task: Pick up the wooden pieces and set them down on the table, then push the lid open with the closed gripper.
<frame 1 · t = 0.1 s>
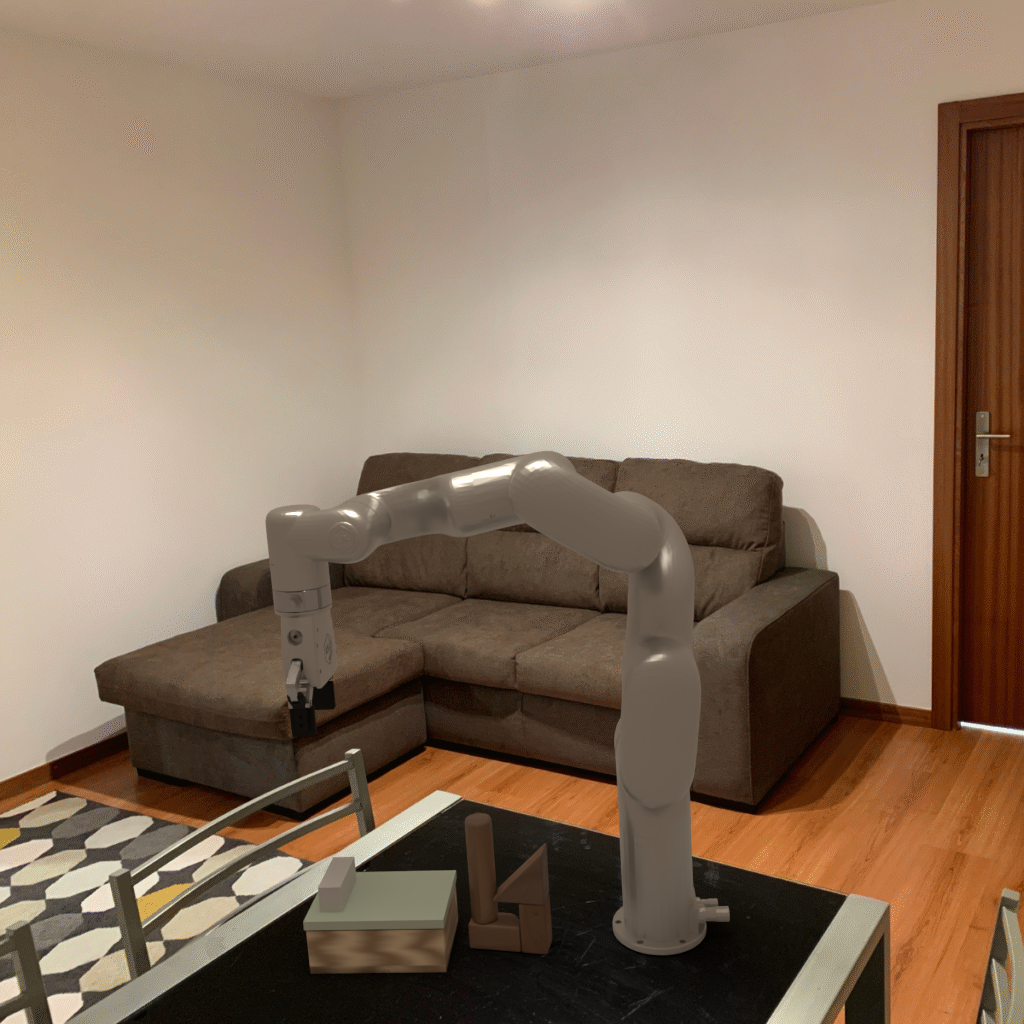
hand: (314, 722, 137), 31 cm above the table, tool pointing down, fingers open, 9 cm apart
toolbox: (387, 945, 138), on the table
lid: (381, 887, 137), point 9 cm above the table, slide at 0.0 cm
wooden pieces: (511, 946, 137), on the table
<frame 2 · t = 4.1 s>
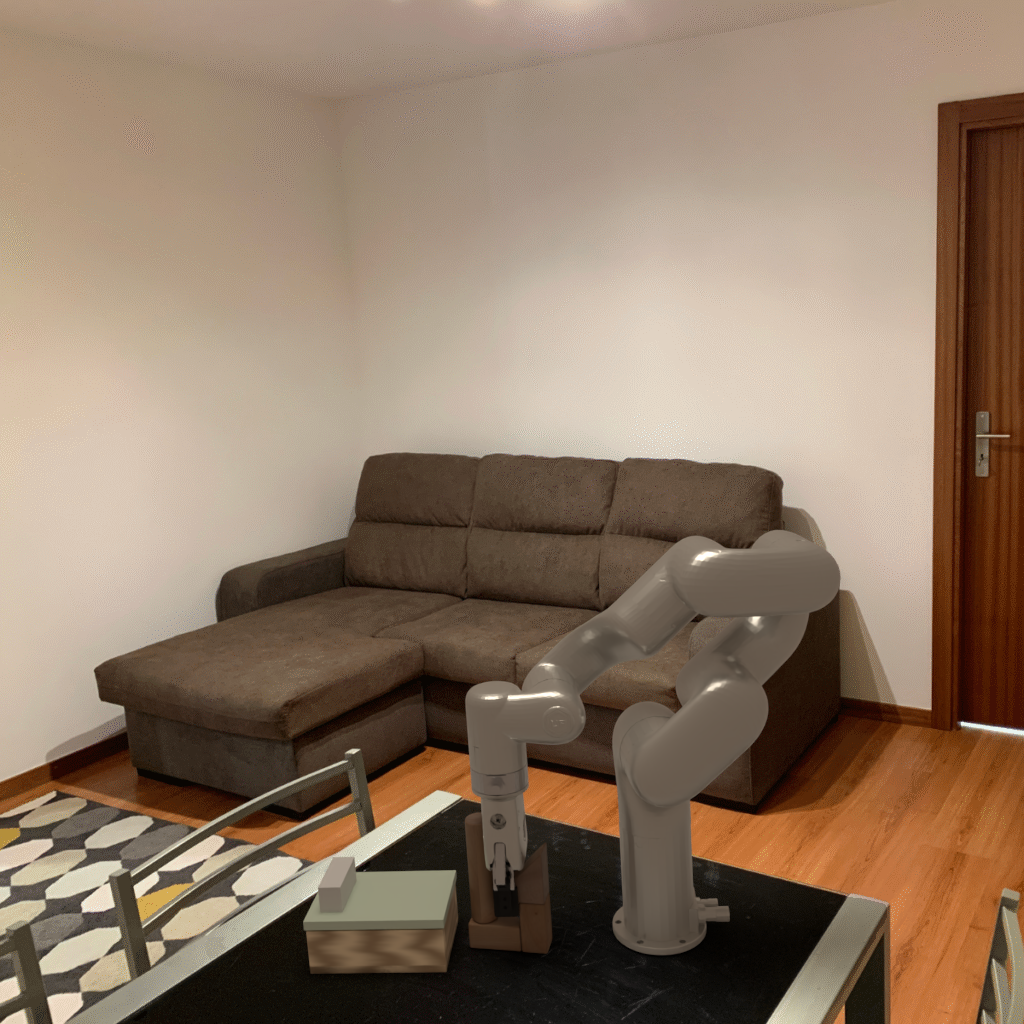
hand: (508, 904, 136), 6 cm above the table, tool pointing down, fingers closed on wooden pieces, 4 cm apart
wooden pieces: (511, 945, 137), on the table, touching gripper
everything else where it was.
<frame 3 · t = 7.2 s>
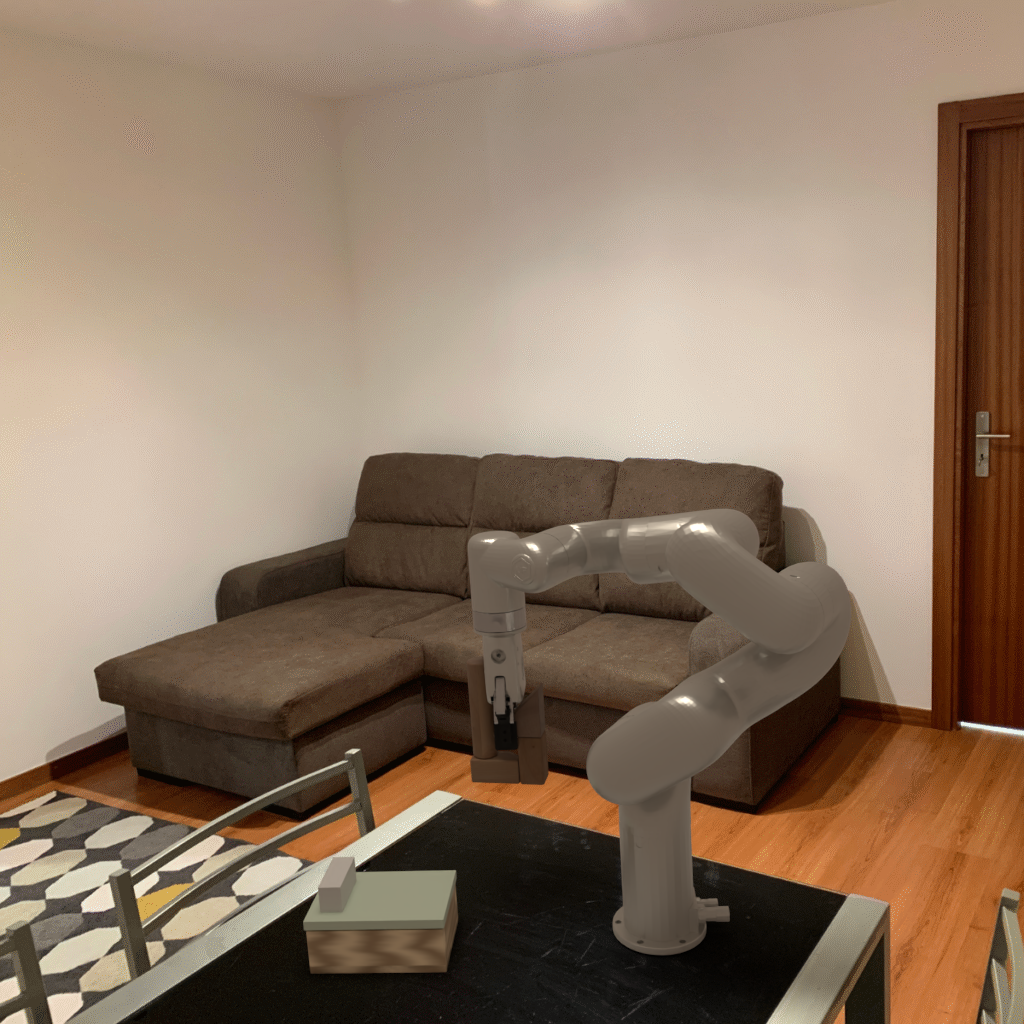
hand: (508, 741, 145), 24 cm above the table, tool pointing down, fingers closed on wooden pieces, 4 cm apart
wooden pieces: (510, 780, 147), point 17 cm above the table, touching gripper
everything else where it was.
when the fingers open (7 cm above the table, at t = 10.4 s): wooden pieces drops 1 cm, on the table.
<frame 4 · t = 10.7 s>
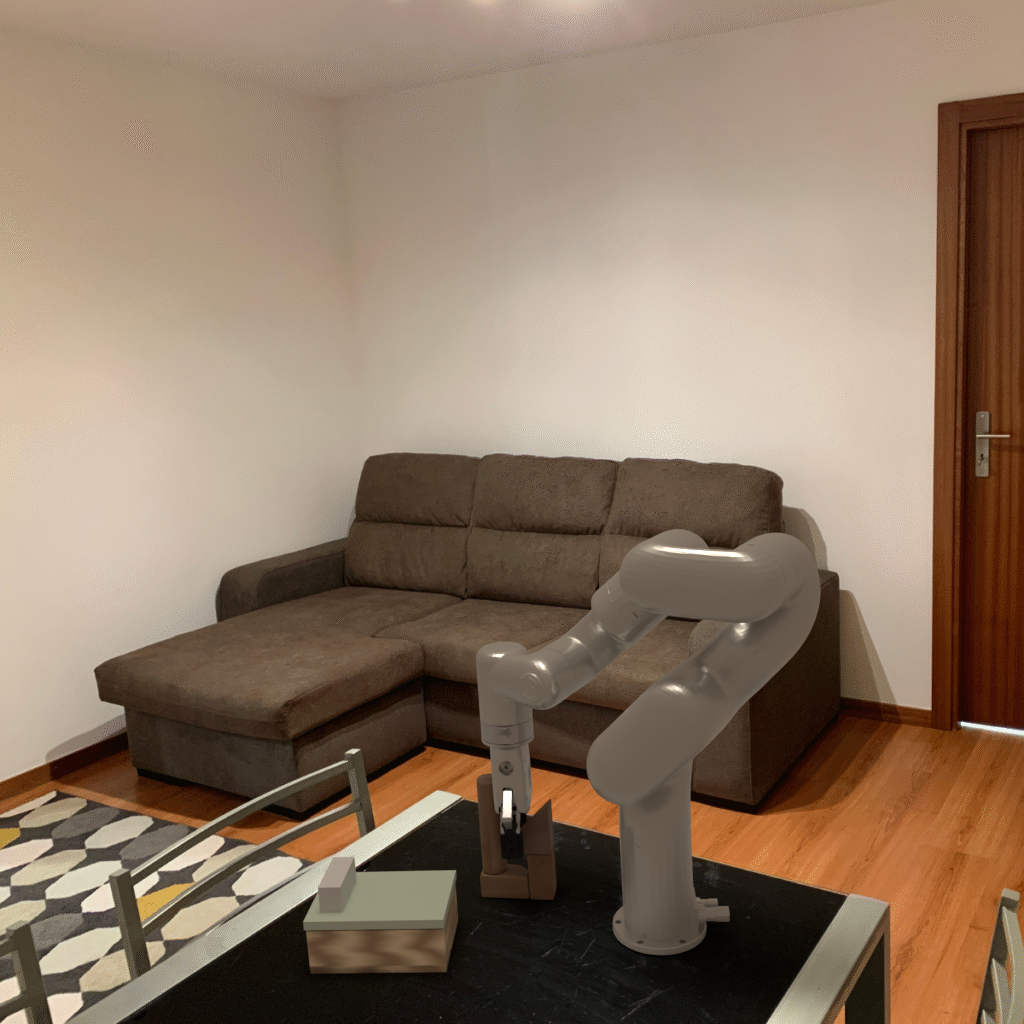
hand: (514, 843, 148), 8 cm above the table, tool pointing down, fingers open, 7 cm apart
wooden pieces: (519, 894, 149), on the table
everything else where it was.
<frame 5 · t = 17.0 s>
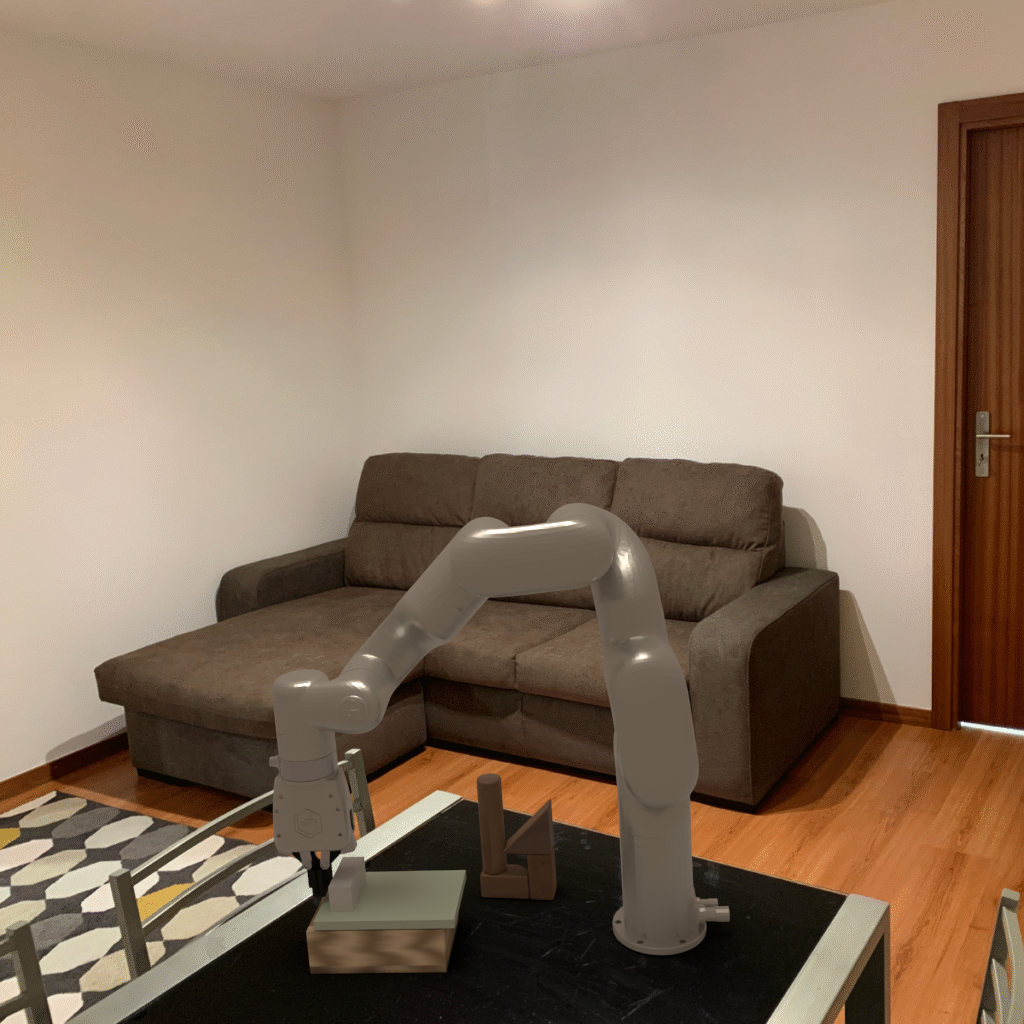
hand: (321, 891, 137), 8 cm above the table, tool pointing down, fingers closed
lid: (391, 886, 136), point 9 cm above the table, slide at 1.4 cm, touching gripper
everything else where it was.
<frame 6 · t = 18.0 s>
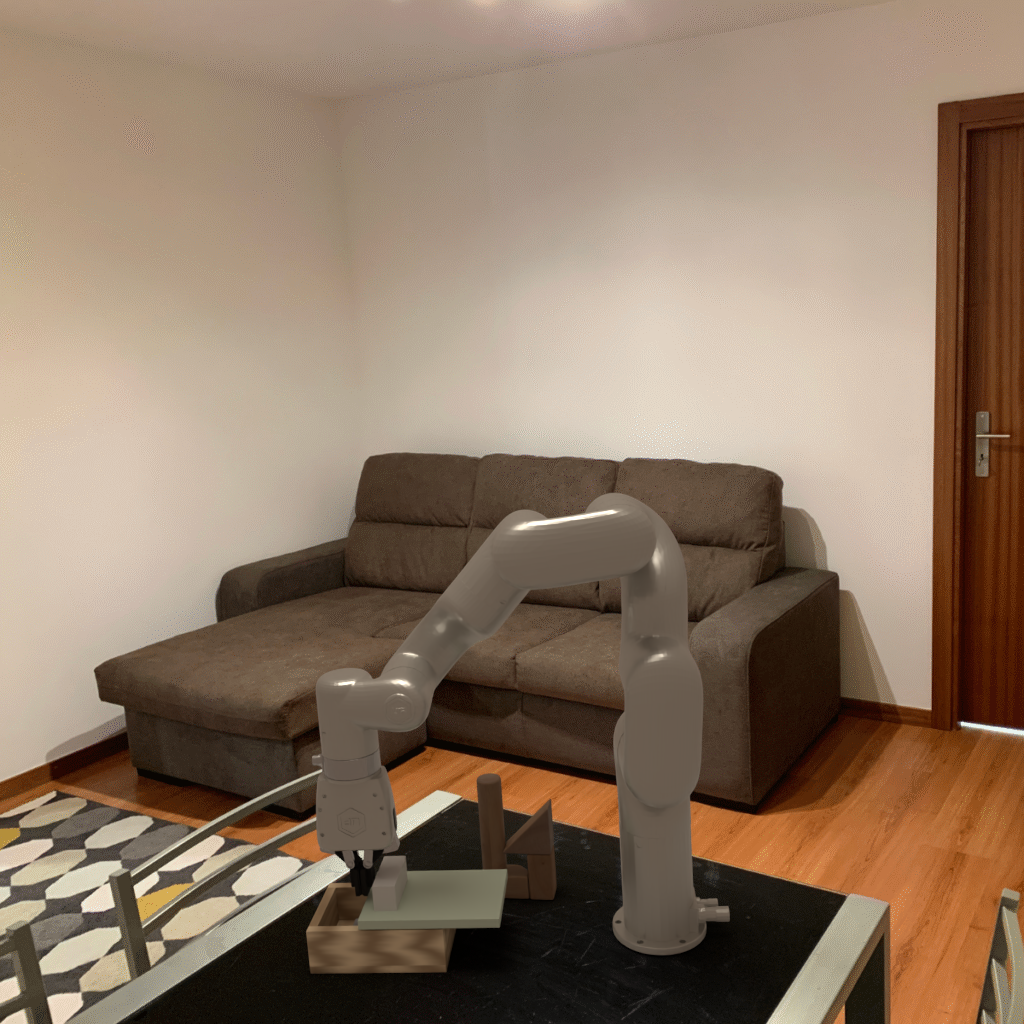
hand: (364, 890, 137), 8 cm above the table, tool pointing down, fingers closed
lid: (434, 886, 136), point 9 cm above the table, slide at 7.2 cm, touching gripper
everything else where it was.
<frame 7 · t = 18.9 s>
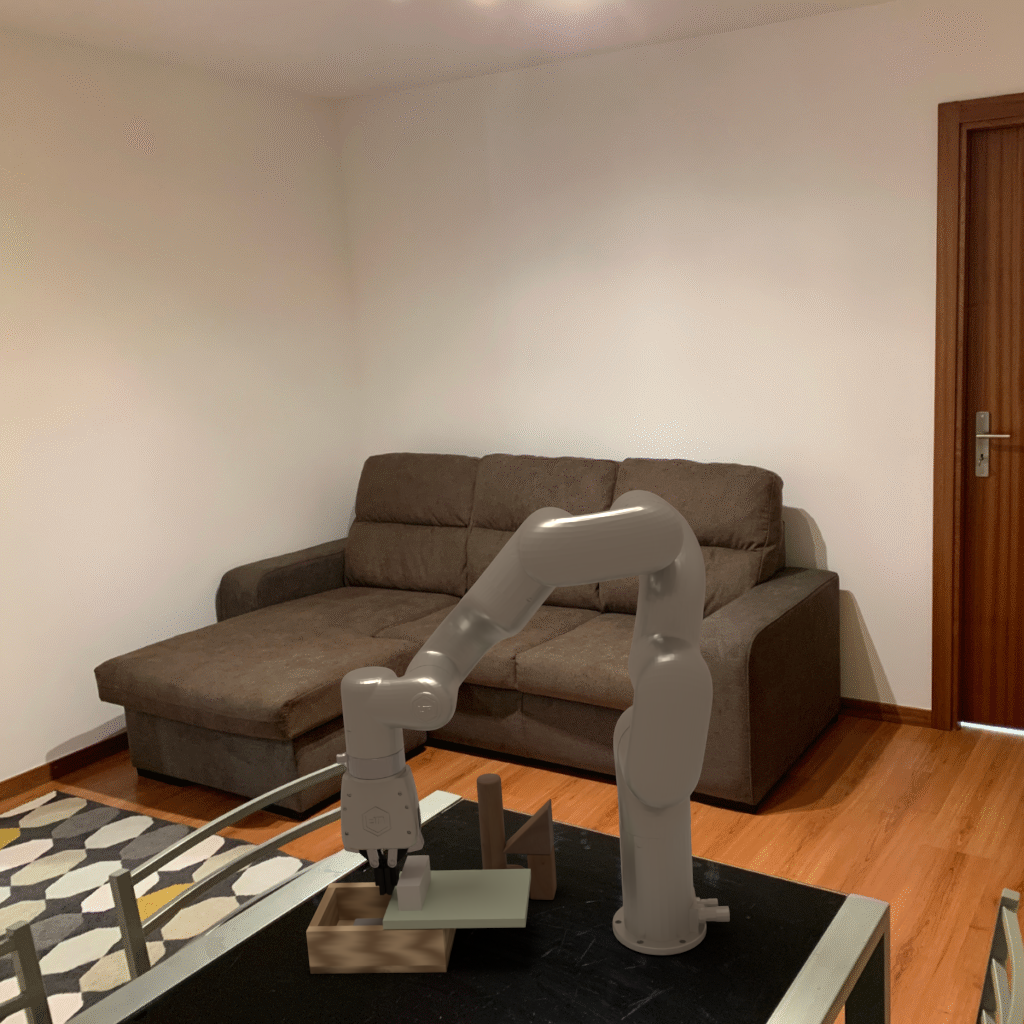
hand: (388, 889, 137), 8 cm above the table, tool pointing down, fingers closed
lid: (458, 885, 136), point 9 cm above the table, slide at 10.5 cm, touching gripper
everything else where it was.
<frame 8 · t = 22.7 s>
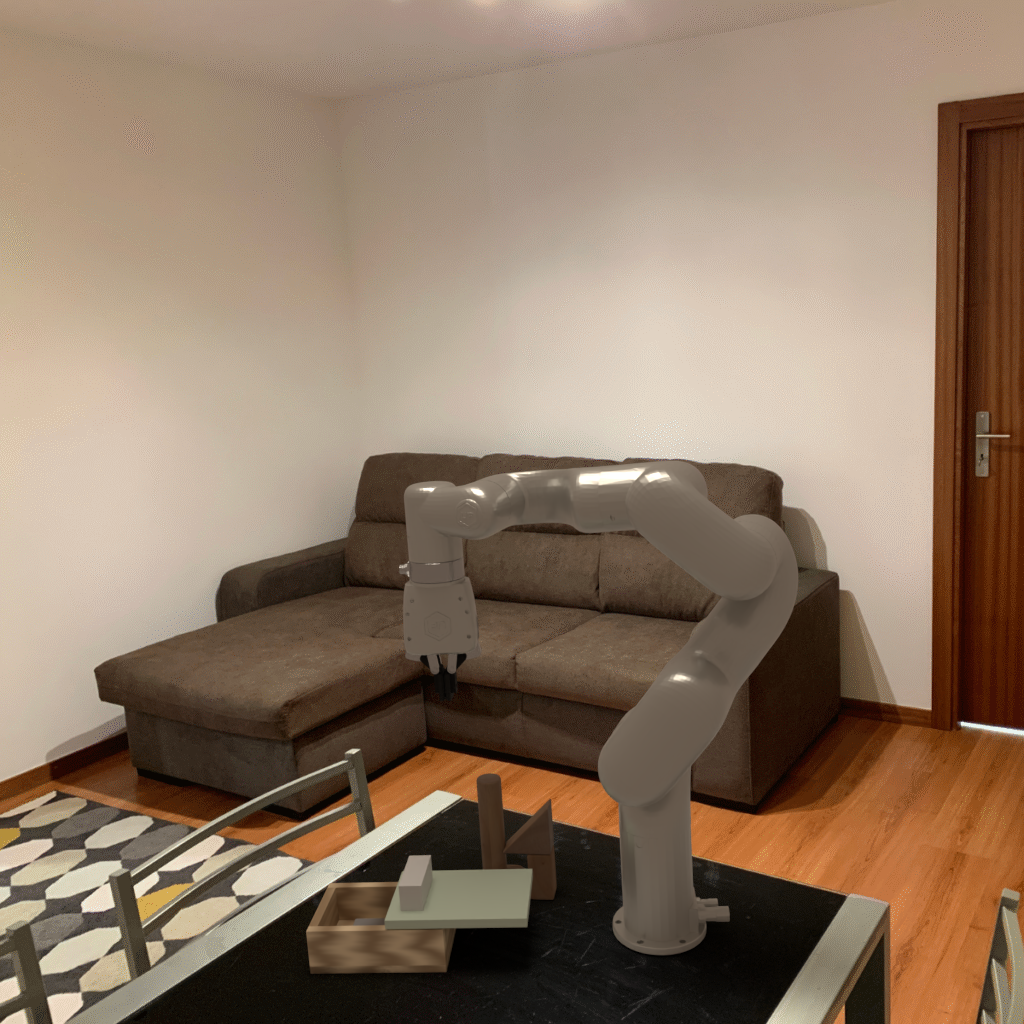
hand: (447, 697, 143), 31 cm above the table, tool pointing down, fingers closed
lid: (460, 885, 136), point 9 cm above the table, slide at 10.7 cm
everything else where it was.
at the end: lid slide at 10.7 cm; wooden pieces inside the target area (1.0 cm from its centre), on the table; the gripper is holding nothing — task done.
